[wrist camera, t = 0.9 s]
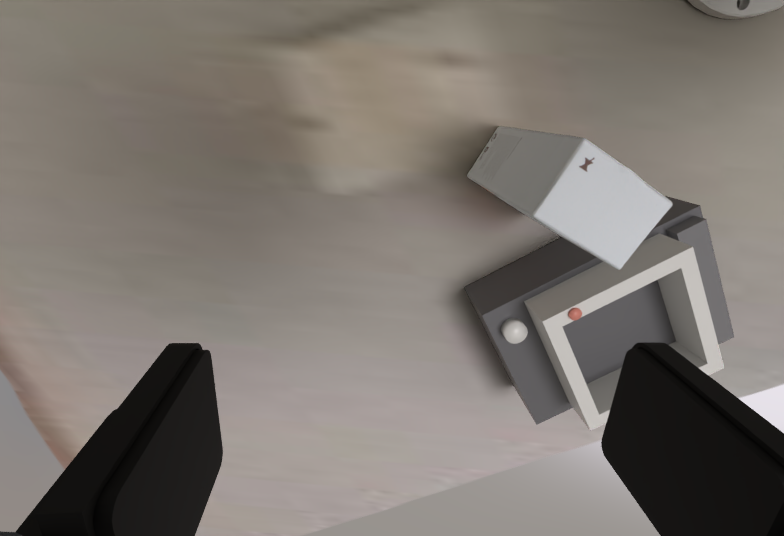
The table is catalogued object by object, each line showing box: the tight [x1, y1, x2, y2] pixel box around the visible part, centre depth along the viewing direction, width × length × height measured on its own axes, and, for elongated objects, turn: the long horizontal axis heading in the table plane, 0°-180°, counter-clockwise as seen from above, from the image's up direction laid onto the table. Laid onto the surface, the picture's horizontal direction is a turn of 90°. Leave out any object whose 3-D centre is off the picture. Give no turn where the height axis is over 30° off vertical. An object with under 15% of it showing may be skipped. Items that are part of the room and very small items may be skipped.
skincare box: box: [467, 126, 673, 270], centre depth 26 cm, size 6×4×12 cm
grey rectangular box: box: [464, 196, 734, 431], centre depth 32 cm, size 16×11×8 cm
